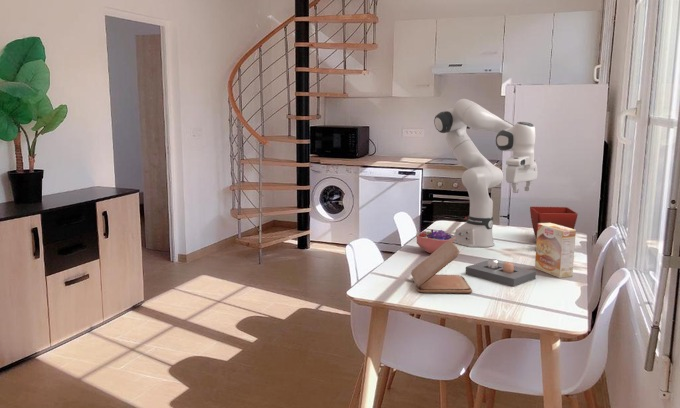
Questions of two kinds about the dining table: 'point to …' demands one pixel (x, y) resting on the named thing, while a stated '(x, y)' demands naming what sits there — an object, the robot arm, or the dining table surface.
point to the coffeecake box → (555, 249)
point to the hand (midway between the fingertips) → (521, 191)
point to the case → (432, 265)
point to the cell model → (433, 240)
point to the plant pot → (553, 216)
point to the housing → (501, 274)
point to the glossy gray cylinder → (493, 264)
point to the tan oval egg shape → (508, 267)
